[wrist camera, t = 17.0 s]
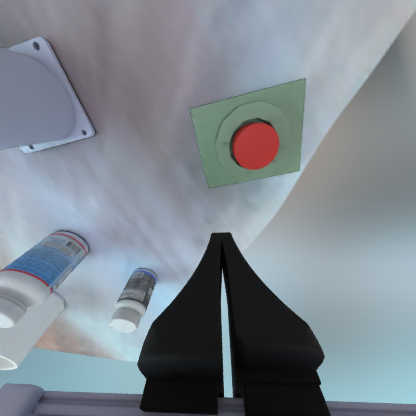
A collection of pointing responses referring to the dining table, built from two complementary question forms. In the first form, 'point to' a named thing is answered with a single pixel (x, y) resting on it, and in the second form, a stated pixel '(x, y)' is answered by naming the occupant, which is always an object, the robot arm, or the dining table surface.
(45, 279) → the pill bottle
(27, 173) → the dining table surface
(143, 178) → the dining table surface
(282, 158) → the green stepped block
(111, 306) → the dining table surface
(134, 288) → the pill bottle
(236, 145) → the button
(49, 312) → the mug
